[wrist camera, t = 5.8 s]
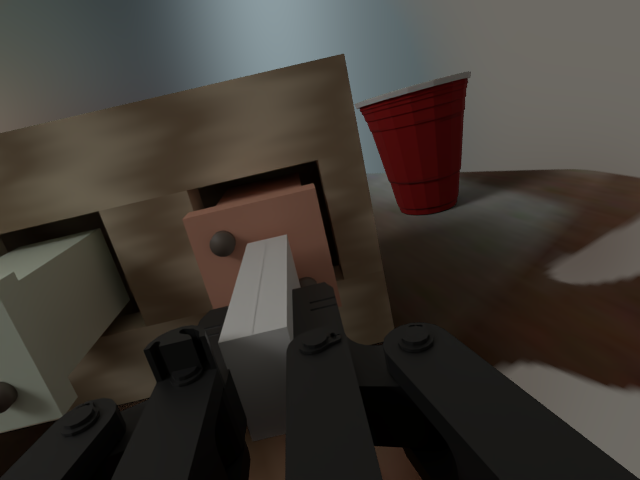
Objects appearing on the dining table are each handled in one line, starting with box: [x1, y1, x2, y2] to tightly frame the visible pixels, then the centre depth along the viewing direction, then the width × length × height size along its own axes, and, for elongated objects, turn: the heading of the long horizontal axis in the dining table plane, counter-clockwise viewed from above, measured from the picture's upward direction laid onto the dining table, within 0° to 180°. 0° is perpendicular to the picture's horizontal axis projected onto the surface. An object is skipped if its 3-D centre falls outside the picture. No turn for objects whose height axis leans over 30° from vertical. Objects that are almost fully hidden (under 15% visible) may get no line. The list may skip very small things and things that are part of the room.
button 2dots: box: [0, 228, 130, 432], centre depth 16 cm, size 5×8×5 cm, turn 5°
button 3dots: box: [182, 172, 342, 309], centre depth 19 cm, size 5×8×5 cm, turn 5°
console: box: [0, 54, 394, 433], centre depth 24 cm, size 30×10×14 cm, turn 95°
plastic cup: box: [355, 72, 471, 215], centre depth 40 cm, size 11×11×12 cm
